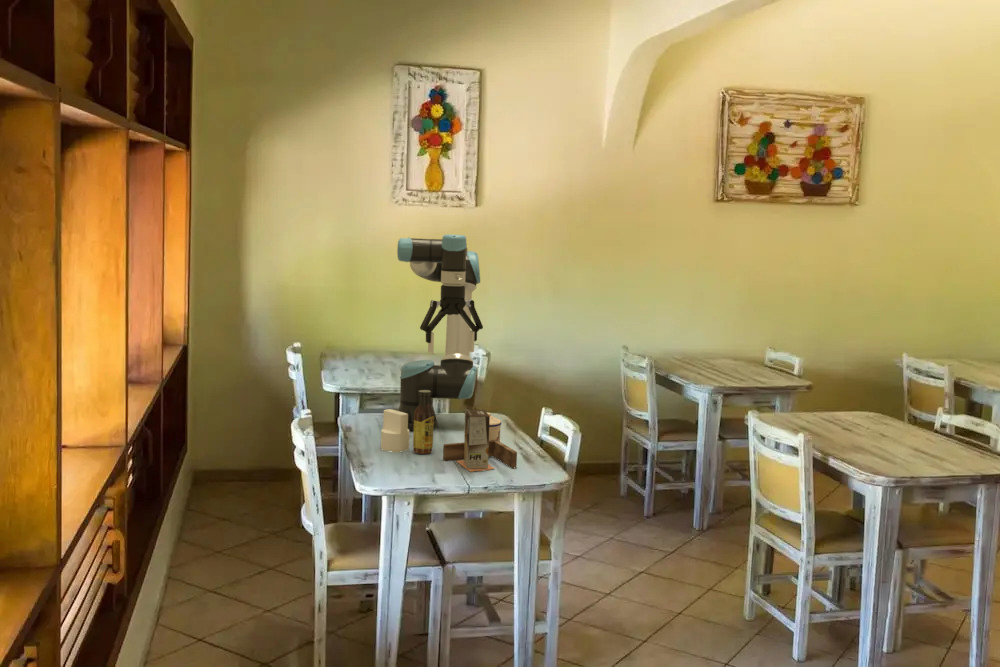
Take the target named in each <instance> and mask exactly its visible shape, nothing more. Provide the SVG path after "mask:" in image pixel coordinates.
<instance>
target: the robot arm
mask: <svg viewBox="0 0 1000 667" xmlns="http://www.w3.org/2000/svg"><path fill="white" fill-rule="evenodd" d="M467 245H468V243H467V237H466V235H465V234H464V235H463V234H452V233H451V234H450V233H449V234H443V236H442V238H440V239H437V238H414V237H413V238H411V237H407V238H405V237H404V238H403V237H401V238H399V239H398V241H397V247H396V248H397V250H396V251H397V253H396V254H397V259H398V261H399V262H403V263H404V262H405V263H409V266H410V269H411V270H412V272H413V274H415V275H416V276H418V277H419V278H422V279H425V280H427V281H430V282H437V283H440V284H441V286H440V300H434V299H431V300H430V302H429V303H430V304H429V308H428V310H427V312H426V315H425V316H424V318H423V320H422V323H421V324H420V325H419V329H420V330H421V331H424V332H425V343H427V344H428V345H427V347H428V348H427V353H428V354H433V355H434V351H435V350H434V348H435V347H434V345H435V342H434V341H435V332H433V330H434V329H435V328H437V326H438V325H439V323H440V322H441V321H442V320H443V318H444V317H445V316H446V330H445V331H446V332H445V348H444V349H445V350H444V351H445V352H444V357H442V358H441V359H440V364H437V365H436V364H435V362H434V360H431V359H430V360H427V359H424V360H423V359H421V360H414V361H409V362H406V363H404V364H403V365H401V368H400V376H399V378H400V390H399V391H400V393H399V394H400V395H399V406H398V409H397V411H400V412H403V413H407V414H408V429H409V432H414V418H415V410H416V408H417V407H418V405H419V404H418V402H419V395H418V392H419V391H420V390H429V391H431V397H430V403H431V404H430V405H431V408H432V411H433V415H434V425H433V430H435V429H436V428H437V427H438V418H437V414H436V410H435V408H434V399H449V400H450V399H451V400H452V399H454V400H468V399H471V398H472V396H473V395H474V390H475V386H476V379H477V372H478V367H477V366H475V365H474V360H473V359H471V357H470V353H474V352H475V342H477V340H478V339H477V338H478V332H479V330H483V329H484V325H483V324H482V321H481V319H480V316H479V314H478V312H477V309H476V307H475V301H474V300H473V299H472V296H473V294H472V293H473V292H474V291H475V290H476V289H477V285H478V284H480V283H481V275H480V274H481V273H480V272H481V271H480V262H479V260H480V259H479V256H478V253H477V252H476V251H472V250H471V251H470V250H468V247H467ZM439 307H440V310H439V311H438V313H437V314H436V315H435V313H436V309H438V308H439ZM434 315H435V317H434ZM472 320H473V321H472Z"/></svg>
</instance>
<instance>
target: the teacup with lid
mask: <svg viewBox="0 0 1000 667" xmlns="http://www.w3.org/2000/svg"><path fill="white" fill-rule="evenodd" d="M486 413H487V414H488V415H489V416H490V423H489V440H498V441H500V442H501V426H502V422H501V420H500V419H499V418H496V417H495V416H492V415H491V412H486Z"/></svg>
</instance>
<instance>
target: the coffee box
mask: <svg viewBox="0 0 1000 667" xmlns="http://www.w3.org/2000/svg"><path fill="white" fill-rule="evenodd" d="M487 413H488V412H486V410H485V409H465V410H464V434H463V435H464V436H463V438H464V440H463V442H464V459H463V460H464V462H465V464H466V466H467V467H468V469H474V468H488V464H489V457H488V451H489V423H490V416H489V415H488V414H487Z"/></svg>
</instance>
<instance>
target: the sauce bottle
mask: <svg viewBox="0 0 1000 667" xmlns="http://www.w3.org/2000/svg"><path fill="white" fill-rule="evenodd" d="M418 395H419V402H418V404H419V405H418V407H417V408H416V410H415V418H414V431H413V434H412V435H413V439H412V442H413V443H412V447H413V453H415V454H417V453H418V454H420V455H427V454H431V453H432V451H433V445H434V429H433V425H434V415H433V411H432V408H431V405H430V404H431V403H430V397H431V391H429V390H420V391H419V392H418Z"/></svg>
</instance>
